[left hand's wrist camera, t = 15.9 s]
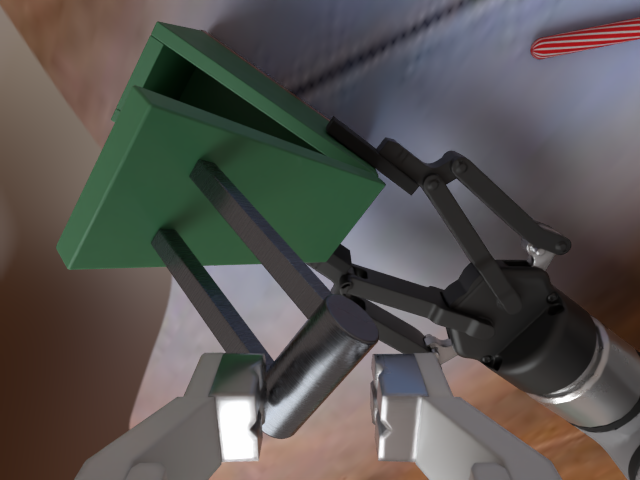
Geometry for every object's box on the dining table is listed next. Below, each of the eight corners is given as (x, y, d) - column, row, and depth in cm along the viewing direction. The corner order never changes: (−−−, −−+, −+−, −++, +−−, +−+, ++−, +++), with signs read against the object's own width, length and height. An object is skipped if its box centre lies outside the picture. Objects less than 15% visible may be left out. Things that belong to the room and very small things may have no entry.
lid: (54, 247, 13) (196, 507, 10) (132, 82, 11) (349, 329, 8) (315, 250, 26) (420, 363, 22) (373, 172, 24) (499, 282, 20)
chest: (167, 103, 31) (109, 120, 23) (204, 30, 30) (156, 20, 21) (322, 205, 34) (320, 252, 26) (366, 145, 32) (379, 176, 24)
